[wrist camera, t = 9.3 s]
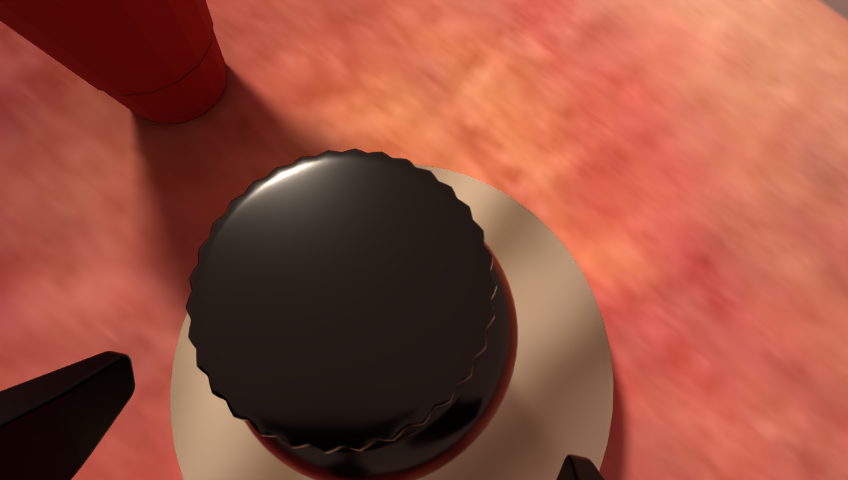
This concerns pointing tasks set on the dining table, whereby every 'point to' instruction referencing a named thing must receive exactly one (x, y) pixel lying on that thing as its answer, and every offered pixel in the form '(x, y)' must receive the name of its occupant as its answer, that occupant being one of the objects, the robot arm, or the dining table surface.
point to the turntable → (528, 390)
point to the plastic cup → (131, 50)
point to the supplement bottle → (354, 318)
